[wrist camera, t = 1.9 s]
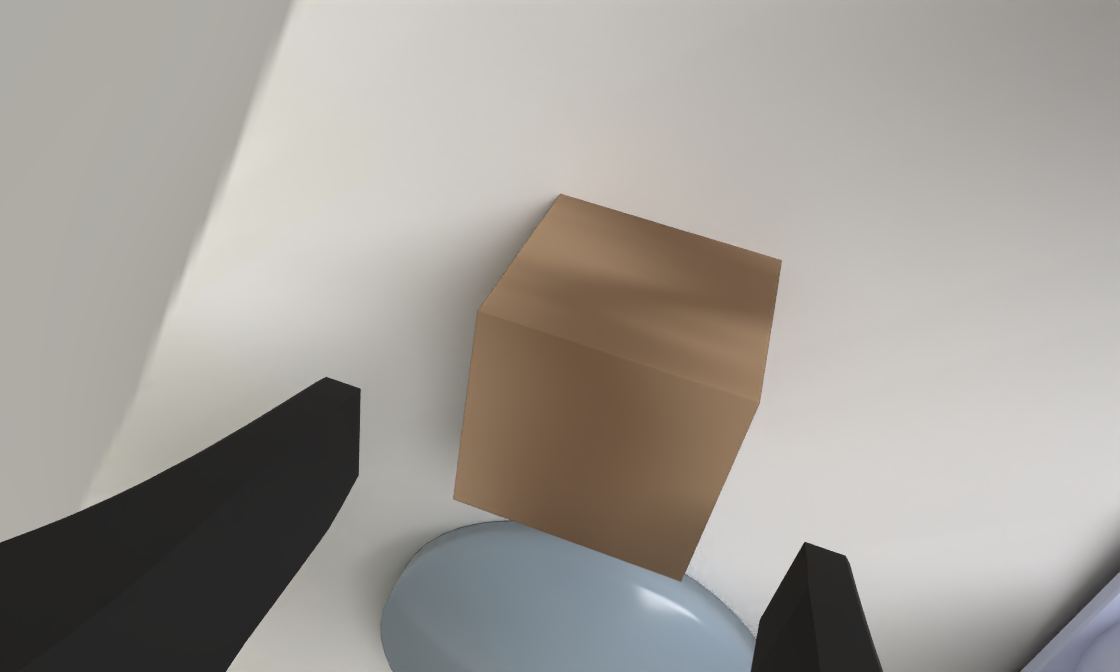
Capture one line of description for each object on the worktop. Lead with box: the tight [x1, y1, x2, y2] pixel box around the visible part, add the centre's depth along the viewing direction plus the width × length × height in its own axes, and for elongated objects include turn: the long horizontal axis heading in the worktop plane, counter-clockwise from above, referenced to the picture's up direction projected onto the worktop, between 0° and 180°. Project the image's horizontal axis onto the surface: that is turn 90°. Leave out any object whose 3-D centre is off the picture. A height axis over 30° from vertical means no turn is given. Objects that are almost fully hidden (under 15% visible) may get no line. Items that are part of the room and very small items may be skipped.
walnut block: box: [453, 194, 782, 582], centre depth 15 cm, size 4×4×4 cm
